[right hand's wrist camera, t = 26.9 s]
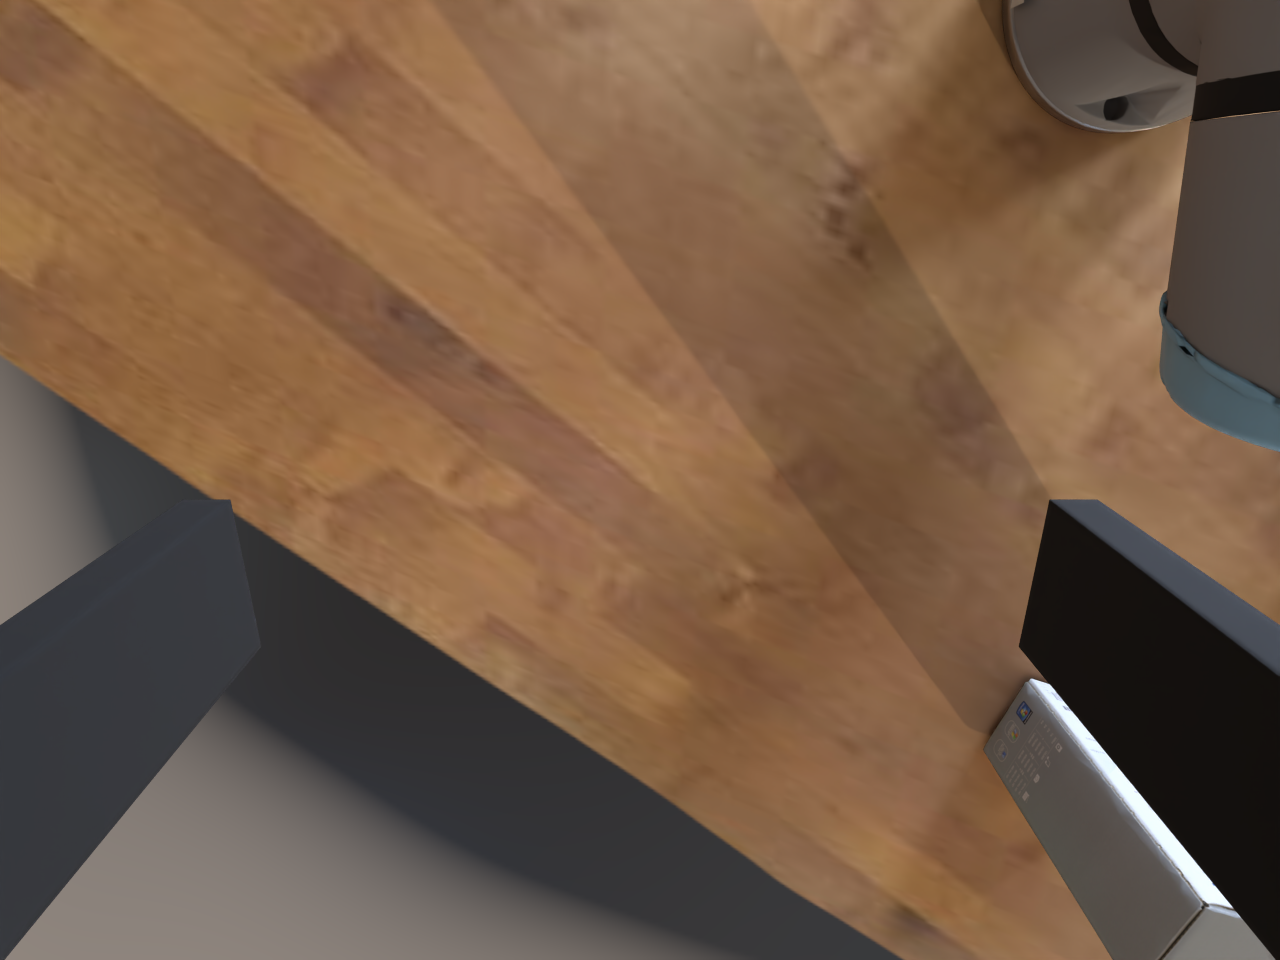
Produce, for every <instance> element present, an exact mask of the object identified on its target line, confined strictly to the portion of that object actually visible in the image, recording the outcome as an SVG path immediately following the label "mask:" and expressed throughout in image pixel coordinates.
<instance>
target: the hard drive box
mask: <svg viewBox="0 0 1280 960" xmlns="http://www.w3.org/2000/svg"><path fill="white" fill-rule="evenodd" d="M983 750H984V752H985V754H986V755H987V757H988V759H989V760H990V762H991V764H992V765H993V767H994V768H995V770H996V772H997V773H998V775H999V776H1000V778H1001V780H1002V781H1003V783H1004V785H1005V786H1006V788H1007V789H1008V791H1009V793H1010V794H1011V796H1012V798H1013V799H1014V801H1015V802H1016V804H1017V806H1018V807H1019V809H1020V810H1021V812H1022V814H1023V815H1024V817H1025V819H1026V820H1027V822H1028V823H1029V825H1030V827H1031V828H1032V830H1033V831H1034V833H1035V835H1036V836H1037V838H1038V839H1039V841H1040V843H1041V844H1042V846H1043V847H1044V849H1045V851H1046V852H1047V854H1048V856H1049V857H1050V859H1051V860H1052V862H1053V864H1054V865H1055V867H1056V868H1057V870H1058V872H1059V873H1060V875H1061V877H1062V878H1063V880H1064V881H1065V883H1066V885H1067V886H1068V888H1069V889H1070V891H1071V893H1072V894H1073V896H1074V898H1075V899H1076V901H1077V902H1078V904H1079V906H1080V907H1081V909H1082V910H1083V912H1084V914H1085V915H1086V917H1087V919H1088V920H1089V922H1090V923H1091V925H1092V927H1093V928H1094V930H1095V931H1096V933H1097V935H1098V936H1099V938H1100V940H1101V941H1102V943H1103V944H1104V946H1105V948H1106V949H1107V951H1108V953H1109V954H1110V956H1111V958H1112V959H1113V960H1275V958H1274V957H1273V956H1272V955H1271V954H1270V952H1269V951H1268V950H1267V949H1266V947H1265V946H1264V945H1263V944H1262V943H1261V941H1260V940H1259V939H1258V938H1257V937H1256V935H1255V934H1254V933H1253V932H1252V930H1251V929H1250V928H1249V927H1248V926H1247V924H1246V923H1245V922H1244V921H1243V919H1242V918H1241V917H1240V916H1239V915H1238V913H1237V912H1236V911H1235V910H1234V908H1233V907H1232V906H1231V905H1230V904H1229V902H1228V901H1227V900H1226V899H1225V897H1224V896H1223V895H1222V894H1221V893H1220V891H1219V890H1218V889H1217V888H1216V887H1215V885H1214V884H1213V883H1212V882H1211V880H1210V879H1209V878H1208V877H1207V876H1206V874H1205V873H1204V872H1203V871H1202V869H1201V868H1200V867H1199V866H1198V865H1197V863H1196V862H1195V861H1194V860H1193V858H1192V857H1191V856H1190V855H1189V854H1188V852H1187V851H1186V850H1185V849H1184V847H1183V846H1182V845H1181V844H1180V843H1179V841H1178V840H1177V839H1176V838H1175V837H1174V835H1173V834H1172V833H1171V832H1170V830H1169V829H1168V828H1167V827H1166V826H1165V824H1164V823H1163V822H1162V821H1161V819H1160V818H1159V817H1158V816H1157V815H1156V813H1155V812H1154V811H1153V810H1152V808H1151V807H1150V806H1149V805H1148V804H1147V802H1146V801H1145V800H1144V799H1143V797H1142V796H1141V795H1140V794H1139V793H1138V791H1137V790H1136V789H1135V788H1134V787H1133V785H1132V784H1131V783H1130V782H1129V780H1128V779H1127V778H1126V777H1125V776H1124V774H1123V773H1122V772H1121V771H1120V769H1119V768H1118V767H1117V766H1116V765H1115V763H1114V762H1113V761H1112V760H1111V758H1110V757H1109V756H1108V755H1107V754H1106V752H1105V751H1104V750H1103V749H1102V747H1101V746H1100V745H1099V744H1098V743H1097V741H1096V740H1095V739H1094V738H1093V736H1092V735H1091V734H1090V733H1089V732H1088V730H1087V729H1086V728H1085V727H1084V726H1083V724H1082V723H1081V722H1080V721H1079V719H1078V718H1077V717H1076V716H1075V715H1074V713H1073V712H1072V711H1071V710H1070V708H1069V707H1068V706H1067V705H1066V704H1065V702H1064V701H1063V700H1062V699H1061V697H1060V696H1059V695H1058V694H1057V693H1056V691H1055V690H1054V689H1053V688H1052V686H1051V685H1050V684H1047V683H1044V682H1041V681H1037V680H1034V679H1030V680H1029V682H1025V684H1024V685H1023V687H1022V689H1021V690H1020V691H1019V693H1018V695H1017V696H1016V698H1015V700H1014V701H1013V703H1012V704H1011V706H1010V707H1009V709H1008V711H1007V712H1006V714H1005V715H1004V717H1003V718H1002V720H1001V722H1000V723H999V725H998V726H997V728H996V729H995V731H994V733H993V734H992V736H991V737H990V739H989V740H988V742H987V744H986V745H985V747H984V749H983Z"/></svg>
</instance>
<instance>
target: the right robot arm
mask: <svg viewBox="0 0 1280 960" xmlns="http://www.w3.org/2000/svg"><path fill="white" fill-rule="evenodd" d="M1002 14H1003V28H1004V36H1005V41H1006V45H1007V50H1008V53H1009V56H1010V59H1011V62H1012V65H1013V67H1014V69H1015V72H1016V74H1017V76H1018V78H1019V79H1020V81H1021V83H1022V84H1023V86H1024V88H1025V89H1026V90H1027V92H1028V93H1029V94H1030V96H1031V97H1032V98H1033V99H1034V100H1035V101H1036V102H1037V103H1038V104H1039V105H1040V106H1041V107H1042V108H1043V109H1044V110H1045V111H1047V112H1048V113H1049V114H1050V115H1052V116H1054V117H1055V118H1057V119H1059V120H1060V121H1062V122H1064V123H1066V124H1068V125H1071V126H1073V127H1076V128H1079V129H1083V130H1087V131H1092V132H1099V133H1124V132H1133V131H1141V130H1148V129H1152V128H1156V127H1160V126H1163V125H1166V124H1169V123H1172V122H1175V121H1178V120H1180V119H1183V118H1185V117H1188V116H1190V115H1192V119H1191V121H1193V122H1190V128H1189V135H1188V143H1187V150H1186V157H1185V165H1184V172H1183V179H1182V187H1181V194H1180V202H1179V209H1178V216H1177V224H1176V231H1175V238H1174V246H1173V253H1172V260H1171V268H1170V275H1169V282H1168V290H1167V291H1166V292H1164V293H1163V295H1162V297H1161V301H1160V307H1159V314H1160V317H1161V323H1162V326H1163V331H1162V343H1161V355H1160V375H1161V379H1162V382H1163V383H1164V385H1165V386H1166V389H1167V391H1168V392H1169V394H1170V396H1171V398H1172V399H1173V401H1174V402H1175V403H1176V404H1177V405H1178V406H1179V407H1181V408H1182V409H1183V410H1184V411H1185V412H1187V413H1188V414H1189V415H1191V416H1192V417H1194V418H1195V419H1197V420H1199V421H1200V422H1202V423H1204V424H1206V425H1208V426H1210V427H1212V428H1214V429H1216V430H1218V431H1220V432H1223V433H1225V434H1227V435H1230V436H1232V437H1235V438H1238V439H1240V440H1243V441H1246V442H1249V443H1252V444H1255V445H1258V446H1261V447H1265V448H1268V449H1271V450H1275V451H1279V452H1280V111H1279V110H1280V0H1003V4H1002ZM1270 111H1279V112H1270ZM1261 112H1270V113H1262V114H1253V115H1245V114H1252V113H1261ZM1234 115H1244V116H1236V117H1227V118H1220V117H1226V116H1234ZM1213 118H1218V119H1213ZM1207 119H1210V120H1207ZM1200 120H1201V121H1200ZM260 647H261V643H260V639H259V634H258V629H257V624H256V620H255V615H254V610H253V605H252V601H251V596H250V591H249V586H248V581H247V577H246V572H245V567H244V562H243V558H242V553H241V548H240V543H239V539H238V534H237V529H236V524H235V519H234V515H233V510H232V505H231V500H181V501H180V502H178V503H177V504H176V505H174V506H173V507H171V508H170V509H168V510H167V511H165V512H164V513H163V514H161V515H160V516H158V517H157V518H155V519H154V520H152V521H151V522H149V523H148V524H147V525H145V526H144V527H142V528H141V529H139V530H138V531H136V532H135V533H134V534H132V535H131V536H129V537H128V538H126V539H125V540H123V541H122V542H120V543H119V544H117V545H116V546H115V547H113V548H112V549H110V550H109V551H107V552H106V553H104V554H103V555H102V556H100V557H99V558H97V559H96V560H94V561H93V562H91V563H90V564H88V565H87V566H86V567H84V568H83V569H81V570H80V571H78V572H77V573H75V574H74V575H72V576H71V577H70V578H68V579H67V580H65V581H64V582H62V583H61V584H59V585H58V586H57V587H55V588H54V589H52V590H51V591H49V592H48V593H46V594H45V595H43V596H42V597H41V598H39V599H38V600H36V601H35V602H33V603H32V604H30V605H29V606H28V607H26V608H25V609H23V610H22V611H20V612H19V613H17V614H16V615H14V616H13V617H12V618H10V619H9V620H7V621H6V622H4V623H3V624H1V625H0V960H5V958H6V957H7V956H8V955H9V954H10V952H11V951H12V950H13V949H14V947H15V946H16V945H17V944H18V943H19V941H20V940H21V939H22V938H23V937H24V935H25V934H26V933H27V932H28V930H29V929H30V928H31V927H32V926H33V924H34V923H35V922H36V921H37V919H38V918H39V917H40V916H41V915H42V913H43V912H44V911H45V910H46V908H47V907H48V906H49V905H50V904H51V902H52V901H53V900H54V899H55V897H56V896H57V895H58V894H59V893H60V891H61V890H62V889H63V888H64V887H65V885H66V884H67V883H68V882H69V880H70V879H71V878H72V877H73V876H74V874H75V873H76V872H77V871H78V869H79V868H80V867H81V866H82V865H83V863H84V862H85V861H86V860H87V858H88V857H89V856H90V855H91V854H92V852H93V851H94V850H95V849H96V847H97V846H98V845H99V844H100V843H101V841H102V840H103V839H104V838H105V836H106V835H107V834H108V833H109V832H110V830H111V829H112V828H113V827H114V826H115V824H116V823H117V822H118V821H119V819H120V818H121V817H122V816H123V814H124V813H125V812H126V811H127V810H128V808H129V807H130V806H131V805H132V804H133V802H134V801H135V800H136V799H137V797H138V796H139V795H140V794H141V793H142V791H143V790H144V789H145V788H146V787H147V785H148V784H149V783H150V782H151V780H152V779H153V778H154V777H155V776H156V774H157V773H158V772H159V771H160V769H161V768H162V767H163V766H164V765H165V763H166V762H167V761H168V760H169V758H170V757H171V756H172V755H173V753H174V752H175V751H176V750H177V749H178V747H179V746H180V745H181V744H182V742H183V741H184V740H185V739H186V738H187V736H188V735H189V734H190V733H191V732H192V730H193V729H194V728H195V727H196V725H197V724H198V723H199V722H200V721H201V719H202V718H203V717H204V716H205V715H206V713H207V712H208V711H209V710H210V708H211V707H212V706H213V705H214V704H215V702H216V701H217V700H218V699H219V697H220V696H221V695H222V694H223V693H224V691H225V690H226V689H227V688H228V686H229V685H230V684H231V683H232V682H233V680H234V679H235V678H236V677H237V676H238V674H239V673H240V672H241V671H242V669H243V668H244V667H245V666H246V664H247V663H248V662H249V661H250V660H251V658H252V657H253V656H254V655H255V654H256V652H257V651H258V650H259V649H260ZM1019 647H1020V649H1021V650H1022V651H1023V652H1024V654H1025V655H1026V656H1027V657H1028V658H1029V660H1030V661H1031V662H1032V663H1033V665H1034V666H1035V667H1036V668H1037V669H1038V671H1039V672H1040V673H1041V674H1042V676H1043V677H1044V678H1045V679H1046V680H1047V682H1048V683H1049V684H1050V685H1051V686H1052V688H1053V689H1054V690H1055V691H1056V693H1057V694H1058V695H1059V696H1060V697H1061V699H1062V700H1063V701H1064V702H1065V704H1066V705H1067V706H1068V707H1069V708H1070V710H1071V711H1072V712H1073V713H1074V715H1075V716H1076V717H1077V718H1078V719H1079V721H1080V722H1081V723H1082V724H1083V726H1084V727H1085V728H1086V729H1087V730H1088V732H1089V733H1090V734H1091V735H1092V736H1093V738H1094V739H1095V740H1096V741H1097V743H1098V744H1099V745H1100V746H1101V747H1102V749H1103V750H1104V751H1105V752H1106V754H1107V755H1108V756H1109V757H1110V758H1111V760H1112V761H1113V762H1114V763H1115V765H1116V766H1117V767H1118V768H1119V769H1120V771H1121V772H1122V773H1123V774H1124V776H1125V777H1126V778H1127V779H1128V780H1129V782H1130V783H1131V784H1132V785H1133V787H1134V788H1135V789H1136V790H1137V791H1138V793H1139V794H1140V795H1141V796H1142V797H1143V799H1144V800H1145V801H1146V802H1147V804H1148V805H1149V806H1150V807H1151V808H1152V810H1153V811H1154V812H1155V813H1156V815H1157V816H1158V817H1159V818H1160V819H1161V821H1162V822H1163V823H1164V824H1165V826H1166V827H1167V828H1168V829H1169V830H1170V832H1171V833H1172V834H1173V835H1174V837H1175V838H1176V839H1177V840H1178V841H1179V843H1180V844H1181V845H1182V846H1183V847H1184V849H1185V850H1186V851H1187V852H1188V854H1189V855H1190V856H1191V857H1192V858H1193V860H1194V861H1195V862H1196V863H1197V865H1198V866H1199V867H1200V868H1201V869H1202V871H1203V872H1204V873H1205V874H1206V876H1207V877H1208V878H1209V879H1210V880H1211V882H1212V883H1213V884H1214V885H1215V887H1216V888H1217V889H1218V890H1219V891H1220V893H1221V894H1222V895H1223V896H1224V897H1225V899H1226V900H1227V901H1228V902H1229V904H1230V905H1231V906H1232V907H1233V908H1234V910H1235V911H1236V912H1237V913H1238V915H1239V916H1240V917H1241V918H1242V919H1243V921H1244V922H1245V923H1246V924H1247V926H1248V927H1249V928H1250V929H1251V930H1252V932H1253V933H1254V934H1255V935H1256V937H1257V938H1258V939H1259V940H1260V941H1261V943H1262V944H1263V945H1264V946H1265V947H1266V949H1267V950H1268V951H1269V952H1270V954H1271V955H1272V956H1273V957H1274V958H1275V960H1280V625H1279V624H1277V623H1276V622H1274V621H1273V620H1271V619H1270V618H1268V617H1267V616H1266V615H1264V614H1263V613H1261V612H1260V611H1258V610H1257V609H1255V608H1254V607H1253V606H1251V605H1250V604H1248V603H1247V602H1245V601H1244V600H1242V599H1241V598H1239V597H1238V596H1237V595H1235V594H1234V593H1232V592H1231V591H1229V590H1228V589H1226V588H1225V587H1223V586H1222V585H1221V584H1219V583H1218V582H1216V581H1215V580H1213V579H1212V578H1210V577H1209V576H1208V575H1206V574H1205V573H1203V572H1202V571H1200V570H1199V569H1197V568H1196V567H1194V566H1193V565H1192V564H1190V563H1189V562H1187V561H1186V560H1184V559H1183V558H1181V557H1180V556H1178V555H1177V554H1176V553H1174V552H1173V551H1171V550H1170V549H1168V548H1167V547H1165V546H1164V545H1163V544H1161V543H1160V542H1158V541H1157V540H1155V539H1154V538H1152V537H1151V536H1149V535H1148V534H1147V533H1145V532H1144V531H1142V530H1141V529H1139V528H1138V527H1136V526H1135V525H1133V524H1132V523H1131V522H1129V521H1128V520H1126V519H1125V518H1123V517H1122V516H1120V515H1119V514H1117V513H1116V512H1115V511H1113V510H1112V509H1110V508H1109V507H1107V506H1106V505H1104V504H1103V503H1102V502H1100V501H1099V500H1049V505H1048V510H1047V515H1046V519H1045V524H1044V529H1043V534H1042V538H1041V543H1040V548H1039V553H1038V557H1037V562H1036V567H1035V572H1034V577H1033V581H1032V586H1031V591H1030V596H1029V600H1028V605H1027V610H1026V615H1025V619H1024V624H1023V629H1022V634H1021V639H1020V643H1019Z"/></svg>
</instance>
